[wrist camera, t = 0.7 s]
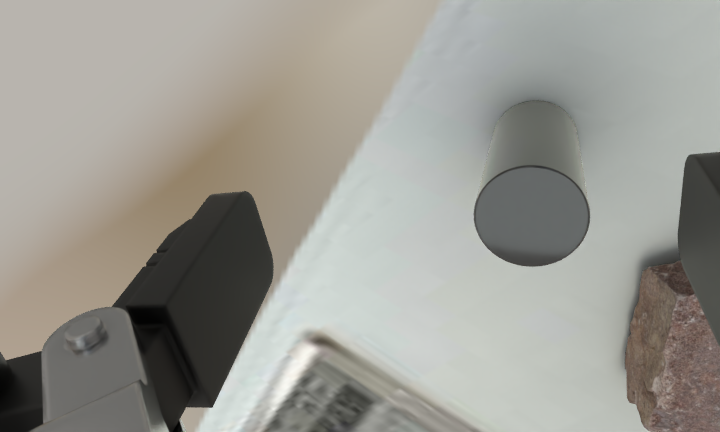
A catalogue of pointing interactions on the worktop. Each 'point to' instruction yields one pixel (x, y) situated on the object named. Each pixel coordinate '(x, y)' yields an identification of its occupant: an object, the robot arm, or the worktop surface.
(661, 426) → the stone
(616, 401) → the worktop surface
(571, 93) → the worktop surface
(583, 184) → the dark grey cylinder
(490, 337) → the worktop surface
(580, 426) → the worktop surface
